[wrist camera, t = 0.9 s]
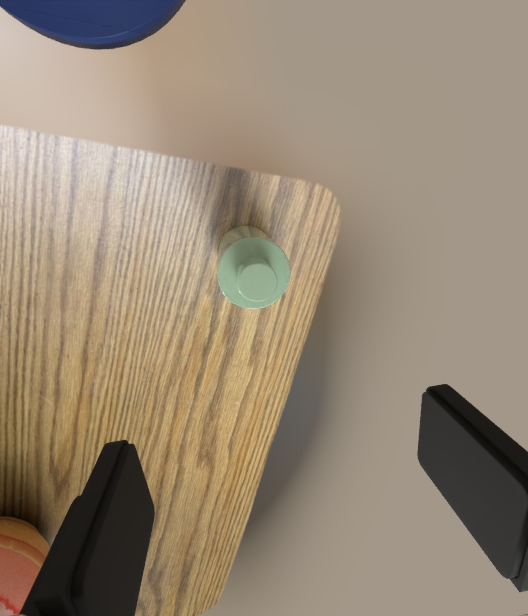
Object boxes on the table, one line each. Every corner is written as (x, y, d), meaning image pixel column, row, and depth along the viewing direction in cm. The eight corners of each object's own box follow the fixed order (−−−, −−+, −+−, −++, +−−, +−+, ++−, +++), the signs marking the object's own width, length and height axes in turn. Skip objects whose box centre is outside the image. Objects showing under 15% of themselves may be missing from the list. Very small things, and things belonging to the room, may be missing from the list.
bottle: (220, 222, 27) (220, 237, 18) (275, 228, 28) (303, 246, 19) (216, 277, 29) (214, 317, 19) (268, 281, 29) (291, 323, 20)
